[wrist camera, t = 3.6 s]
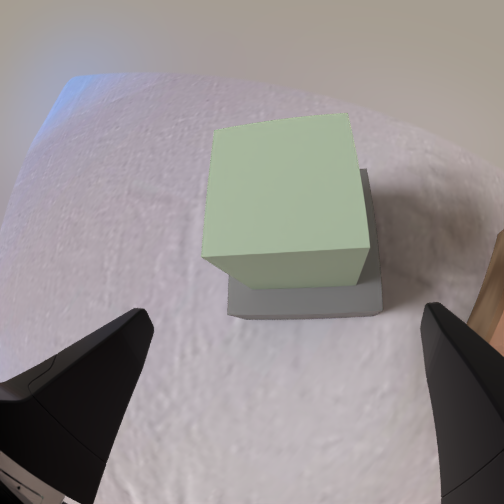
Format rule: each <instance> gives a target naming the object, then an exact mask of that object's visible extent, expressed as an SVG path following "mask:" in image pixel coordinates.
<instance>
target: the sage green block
mask: <svg viewBox="0 0 504 504" xmlns="http://www.w3.org/2000/svg"><path fill="white" fill-rule="evenodd" d="M369 249H370V242H369V232H368V224H367V216H366V208H365V201H364V194H363V188H362V182H361V176H360V170H359V165H358V159H357V154H356V149H355V144H354V139H353V134H352V130H351V125H350V121H349V117H348V113H340V114H326V115H314V116H304V117H295V118H287V119H279V120H271V121H264V122H258V123H252V124H246V125H240V126H234V127H229V128H223V129H218V130H214V136H213V144H212V152H211V160H210V169H209V178H208V187H207V197H206V207H205V217H204V229H203V240H202V253H201V257H202V258H203V259H205V260H207V261H208V262H210V263H211V264H213V265H214V266H216V267H217V268H219V269H221V270H222V271H224V272H225V273H227V274H228V275H230V276H232V277H233V278H235V279H236V280H238V281H240V282H241V283H243V284H244V285H246V286H247V287H249V288H251V289H287V288H313V287H335V286H353V285H356V284H357V281H358V279H359V276H360V273H361V271H362V268H363V265H364V263H365V260H366V257H367V255H368V252H369Z"/></svg>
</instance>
